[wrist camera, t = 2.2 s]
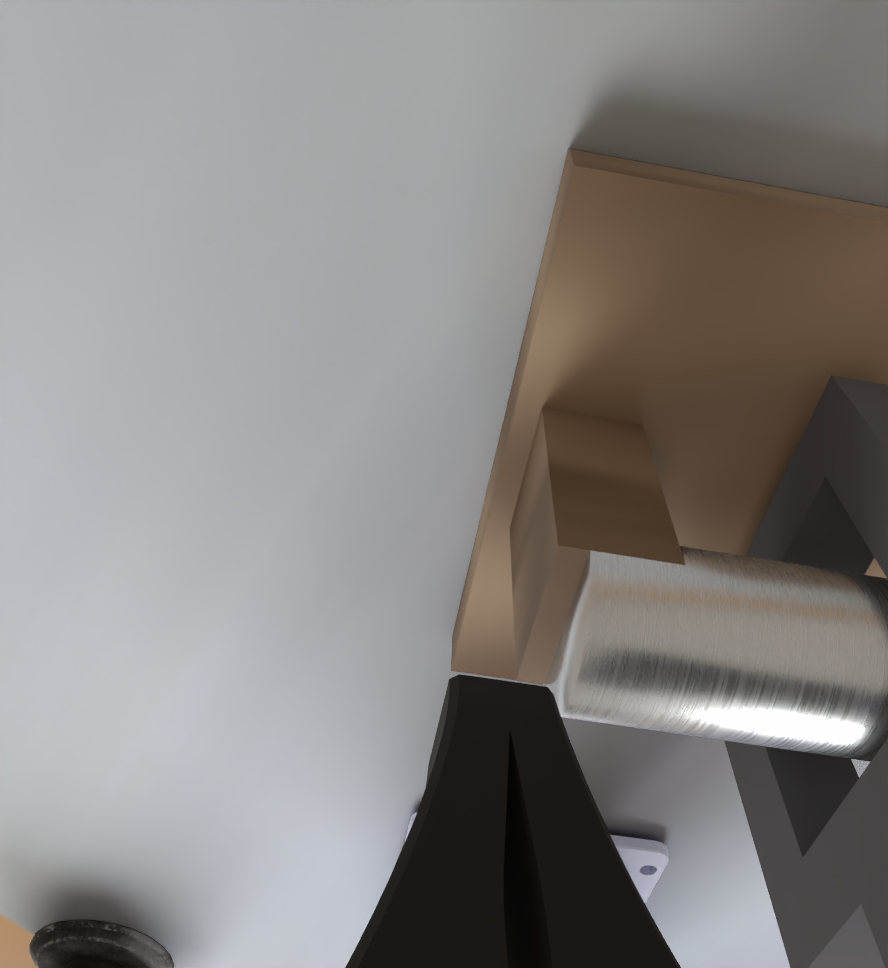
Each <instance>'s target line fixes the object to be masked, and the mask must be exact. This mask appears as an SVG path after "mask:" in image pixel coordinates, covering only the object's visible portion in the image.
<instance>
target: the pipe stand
mask: <svg viewBox="0 0 888 968" xmlns="http://www.w3.org/2000/svg"><path fill="white" fill-rule="evenodd" d="M831 375H834V376H839V377H845V378H851V379H857V380H863V381H869V382H874V383H880V384H886V385H888V208H887V207H881V206H876V205H870V204H865V203H860V202H854V201H849V200H844V199H838V198H833V197H827V196H822V195H817V194H811V193H806V192H800V191H795V190H790V189H784V188H779V187H773V186H768V185H763V184H757V183H752V182H746V181H741V180H736V179H730V178H725V177H719V176H714V175H709V174H703V173H698V172H693V171H687V170H682V169H676V168H671V167H666V166H660V165H655V164H649V163H644V162H639V161H633V160H628V159H622V158H617V157H612V156H606V155H601V154H595V153H590V152H585V151H579V150H574V149H568V153H567V157H566V161H565V165H564V170H563V174H562V178H561V182H560V186H559V191H558V195H557V199H556V203H555V207H554V212H553V216H552V220H551V224H550V228H549V233H548V237H547V241H546V245H545V249H544V254H543V258H542V262H541V266H540V270H539V275H538V279H537V283H536V287H535V291H534V296H533V300H532V304H531V308H530V312H529V317H528V321H527V325H526V329H525V333H524V338H523V342H522V346H521V350H520V354H519V359H518V363H517V367H516V371H515V375H514V380H513V384H512V388H511V392H510V396H509V401H508V405H507V409H506V413H505V417H504V422H503V426H502V430H501V434H500V438H499V443H498V447H497V451H496V455H495V459H494V464H493V468H492V472H491V476H490V480H489V485H488V489H487V493H486V497H485V501H484V506H483V510H482V514H481V518H480V522H479V527H478V531H477V535H476V539H475V543H474V548H473V552H472V556H471V560H470V564H469V569H468V573H467V577H466V581H465V585H464V590H463V594H462V598H461V602H460V606H459V611H458V615H457V619H456V623H455V627H454V632H453V637H452V661H451V671H458V672H465V673H472V674H478V675H485V676H492V677H499V678H506V679H513V680H517V681H524V682H531V683H538V684H545V687H548V688H549V689H550V690H551V692H552V693H553V694H554V697H555V700H556V703H557V706H558V709H559V712H560V715H561V717H564V718H571V719H578V720H585V721H592V722H599V723H606V724H613V725H620V726H627V727H634V728H641V729H648V730H655V731H662V732H669V733H676V734H683V735H690V736H697V737H704V738H711V739H718V740H724V741H731V742H738V743H745V744H752V745H759V746H766V747H773V748H780V749H787V750H794V751H801V752H808V753H815V754H822V755H829V756H836V757H843V758H850V759H857V760H864V761H872V759H873V758H874V757H875V755H876V754H877V752H878V751H879V750H880V748H881V747H882V745H883V744H884V743H885V741H886V740H887V738H888V579H887V577H886V576H885V574H884V572H883V571H882V569H881V567H880V566H879V564H878V562H877V561H876V559H875V558H874V559H873V561H872V563H871V564H870V566H869V568H868V569H867V571H866V573H865V575H862V574H856V573H850V572H843V571H837V570H831V569H824V568H818V567H812V566H805V565H799V564H792V563H786V562H780V561H773V560H767V559H761V558H754V557H748V556H746V553H747V551H748V549H749V547H750V545H751V543H752V541H753V539H754V537H755V535H756V532H757V530H758V528H759V526H760V524H761V522H762V520H763V518H764V516H765V514H766V511H767V509H768V507H769V505H770V503H771V501H772V499H773V497H774V495H775V492H776V490H777V488H778V486H779V484H780V482H781V480H782V478H783V476H784V474H785V471H786V469H787V467H788V465H789V463H790V461H791V459H792V457H793V455H794V452H795V450H796V448H797V446H798V444H799V442H800V440H801V438H802V436H803V434H804V431H805V429H806V427H807V425H808V423H809V421H810V419H811V417H812V415H813V412H814V410H815V408H816V406H817V404H818V402H819V400H820V398H821V396H822V394H823V391H824V389H825V387H826V385H827V383H828V381H829V379H830V377H831Z"/></svg>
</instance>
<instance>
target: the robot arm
mask: <svg viewBox="0 0 888 968" xmlns="http://www.w3.org/2000/svg"><path fill="white" fill-rule="evenodd" d="M668 862H669V853H668V849H667V847H666V845H664V844H663V843H661V842H659V841H654V840H647V839H639V838H632V837H625V836H617V835H610V833H609V831H608V829H607V827H606V825H605V823H604V820H603V818H602V816H601V814H600V812H599V810H598V807H597V805H596V803H595V801H594V799H593V796H592V794H591V792H590V789H589V787H588V785H587V782H586V780H585V778H584V775H583V773H582V770H581V768H580V765H579V763H578V760H577V758H576V755H575V753H574V750H573V748H572V745H571V743H570V740H569V737H568V735H567V732H566V729H565V727H564V724H563V721H562V718H561V715H560V712H559V709H558V706H557V703H556V700H555V697H554V694H553V693H552V692H551V690H550V689H549V688H548V687H543V686H536V685H529V684H522V683H516V682H509V681H502V680H495V679H488V678H481V677H474V676H467V675H460V674H459V675H457V676H455V677H453V678H451V679H449V683H448V687H447V691H446V695H445V699H444V703H443V707H442V712H441V716H440V720H439V724H438V728H437V732H436V736H435V740H434V745H433V749H432V753H431V757H430V761H429V767H428V775H427V783H426V789H425V792H424V795H423V798H422V801H421V804H420V806H419V809H418V811H417V812H416V813H414V814H413V815H412V816H411V818H410V821H409V825H408V830H407V834H406V838H405V842H404V846H403V848H402V851H401V853H400V855H399V858H398V860H397V863H396V865H395V867H394V870H393V872H392V874H391V876H390V879H389V881H388V883H387V885H386V887H385V890H384V892H383V894H382V896H381V898H380V900H379V902H378V904H377V907H376V909H375V911H374V913H373V915H372V917H371V919H370V921H369V923H368V925H367V927H366V929H365V931H364V933H363V935H362V937H361V939H360V941H359V943H358V945H357V947H356V949H355V951H354V953H353V955H352V956H351V958H350V960H349V962H348V964H347V966H346V968H681V967H680V965H679V964H678V962H677V960H676V959H675V957H674V955H673V953H672V952H671V950H670V948H669V947H668V945H667V943H666V941H665V940H664V938H663V936H662V934H661V933H660V931H659V929H658V927H657V925H656V924H655V922H654V920H653V918H652V916H651V915H650V913H649V911H648V909H647V907H646V905H645V903H646V902H647V900H648V898H649V896H650V894H651V893H652V891H653V889H654V887H655V885H656V884H657V882H658V880H659V878H660V876H661V875H662V873H663V871H664V869H665V867H666V866H667V864H668Z"/></svg>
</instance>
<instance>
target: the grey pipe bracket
mask: <svg viewBox="0 0 888 968" xmlns="http://www.w3.org/2000/svg"><path fill="white" fill-rule="evenodd" d="M746 556H748V557H754V558H761V559H767V560H773V561H780V562H786V563H792V564H799V565H805V566H812V567H818V568H824V569H831V570H837V571H843V572H850V573H856V574H862V575H865V573H866V571H867V569H868V568H869V566H870V564H871V563H872V561H873V559H874V558H875V559H876V561H877V562H878V564H879V566H880V567H881V569H882V571H883V572H884V574H885V576H886V577H887V579H888V385H886V384H880V383H874V382H869V381H863V380H857V379H851V378H845V377H839V376H834V375H831V377H830V379H829V381H828V383H827V385H826V387H825V389H824V391H823V394H822V396H821V398H820V400H819V402H818V404H817V406H816V408H815V410H814V412H813V415H812V417H811V419H810V421H809V423H808V425H807V427H806V429H805V431H804V434H803V436H802V438H801V440H800V442H799V444H798V446H797V448H796V450H795V452H794V455H793V457H792V459H791V461H790V463H789V465H788V467H787V469H786V471H785V474H784V476H783V478H782V480H781V482H780V484H779V486H778V488H777V490H776V492H775V495H774V497H773V499H772V501H771V503H770V505H769V507H768V509H767V511H766V514H765V516H764V518H763V520H762V522H761V524H760V526H759V528H758V530H757V532H756V535H755V537H754V539H753V541H752V543H751V545H750V547H749V549H748V551H747V553H746ZM725 744H726V747H727V751H728V754H729V758H730V761H731V765H732V768H733V771H734V775H735V778H736V782H737V785H738V789H739V792H740V796H741V799H742V802H743V806H744V809H745V813H746V816H747V820H748V823H749V826H750V830H751V833H752V837H753V840H754V844H755V847H756V850H757V854H758V857H759V861H760V864H761V868H762V871H763V874H764V878H765V881H766V885H767V888H768V892H769V895H770V898H771V902H772V905H773V909H774V912H775V916H776V919H777V922H778V926H779V929H780V933H781V936H782V940H783V943H784V947H785V950H786V953H787V957H788V960H789V964H790V967H791V968H888V738H887V740H886V741H885V743H884V744H883V745H882V747H881V748H880V750H879V751H878V752H877V754H876V755H875V757H874V758H873V759H872V761H871V762H870V764H869V765H868V767H867V768H866V769H865V771H864V772H863V774H862V775H861V776H860V778H859V777H858V775H857V772H856V770H855V768H854V766H853V763H852V761H851V759H850V758H843V757H836V756H829V755H822V754H815V753H808V752H801V751H794V750H787V749H780V748H773V747H766V746H759V745H752V744H745V743H738V742H731V741H725Z"/></svg>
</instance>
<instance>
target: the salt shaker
mask: <svg viewBox="0 0 888 968" xmlns="http://www.w3.org/2000/svg"><path fill="white" fill-rule="evenodd" d="M30 955H31V957H32V959H33V961H34V963H35V965H36V966H37V967H38V968H174V964H173V962H172V959H171V956H170V955H169V954H168V952H167V951H166V950H165V949H164V948H163V947H162V946H161V945H160V944H158V943H157V942H155V941H154V940H153V939H151V938H150V937H148V936H145V935H143V934H141V933H139V932H137V931H135V930H132V929H129V928H126V927H123V926H120V925H116V924H111V923H106V922H100V921H88V920H73V921H64V922H58V923H55V924H52V925H49V926H46V927H44V928H43V929H41V930H40V931H38V932H37V933H36V934H35V936H34V937H33V939H32V941H31V943H30Z"/></svg>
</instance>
